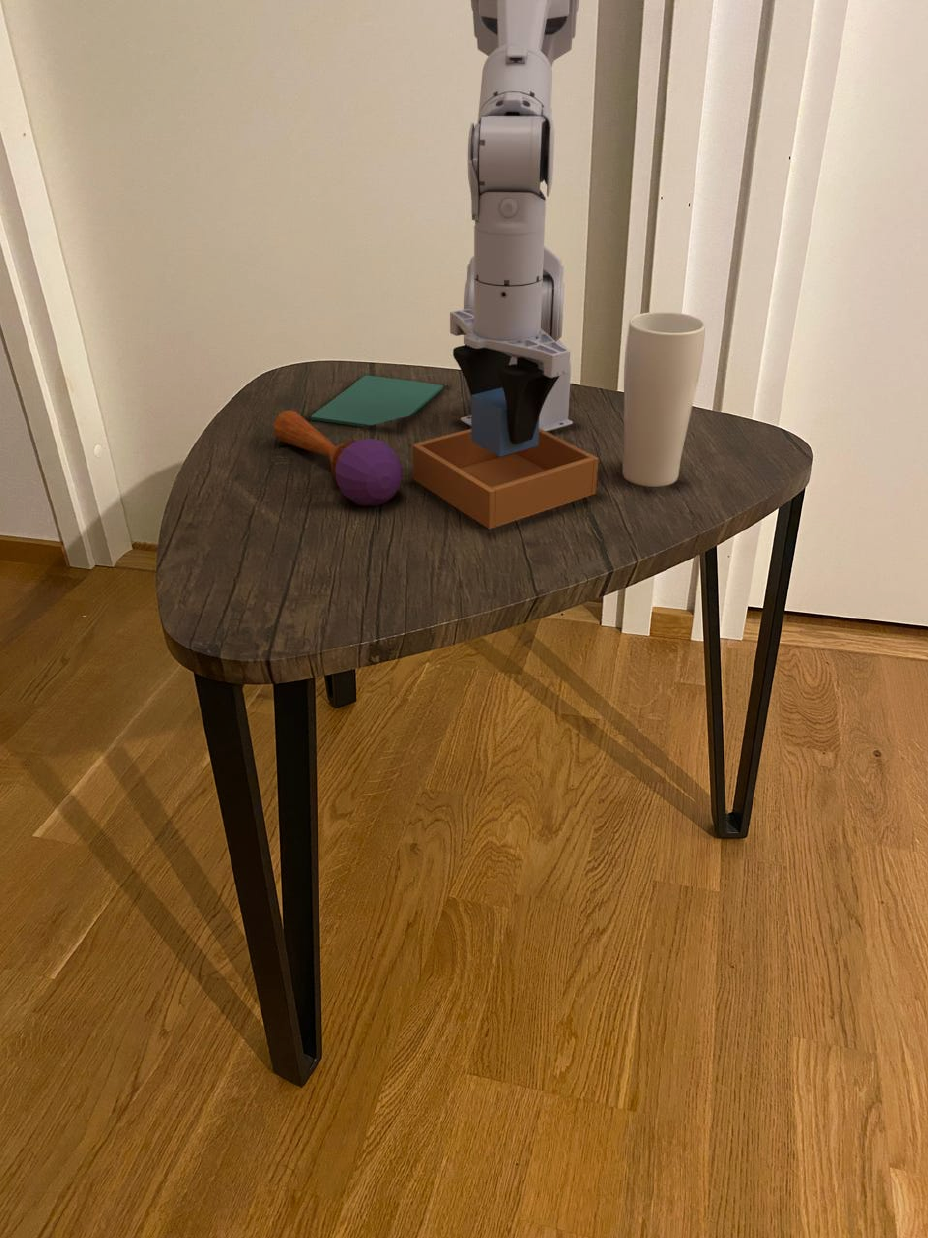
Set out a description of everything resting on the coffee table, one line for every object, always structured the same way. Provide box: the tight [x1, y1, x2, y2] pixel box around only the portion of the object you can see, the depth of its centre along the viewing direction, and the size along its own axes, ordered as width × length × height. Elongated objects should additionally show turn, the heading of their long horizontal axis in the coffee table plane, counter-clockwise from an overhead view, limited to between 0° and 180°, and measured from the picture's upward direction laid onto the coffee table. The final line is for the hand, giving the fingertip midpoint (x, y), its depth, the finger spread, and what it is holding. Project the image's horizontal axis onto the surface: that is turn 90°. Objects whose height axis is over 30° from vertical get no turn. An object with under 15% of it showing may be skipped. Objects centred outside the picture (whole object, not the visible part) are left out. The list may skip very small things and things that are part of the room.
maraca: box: [273, 410, 404, 507], centre depth 93 cm, size 6×6×20 cm
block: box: [470, 387, 539, 457], centre depth 88 cm, size 4×4×4 cm
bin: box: [412, 428, 599, 530], centre depth 91 cm, size 12×12×4 cm
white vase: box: [621, 311, 706, 488], centre depth 90 cm, size 7×7×15 cm
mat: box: [310, 374, 444, 428], centre depth 110 cm, size 14×10×1 cm
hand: (504, 431), depth 89 cm, fingers closed on block, 4 cm apart
